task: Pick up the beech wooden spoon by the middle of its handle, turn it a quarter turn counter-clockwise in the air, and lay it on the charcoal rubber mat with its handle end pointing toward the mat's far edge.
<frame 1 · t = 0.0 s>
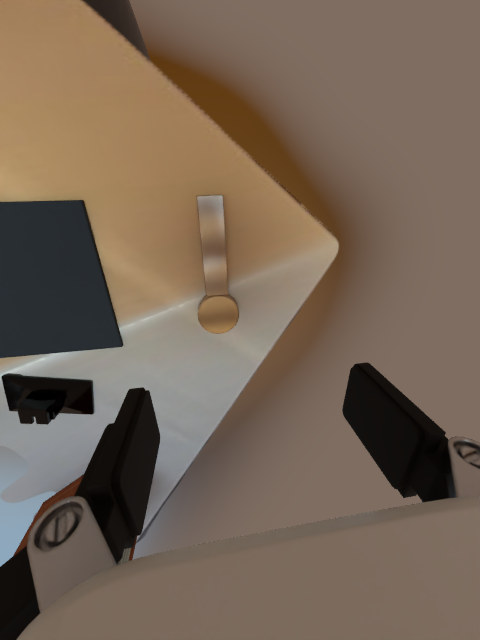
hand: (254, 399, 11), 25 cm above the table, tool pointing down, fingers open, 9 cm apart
mat: (18, 287, 31), on the table
build plate: (52, 394, 38), on the table
spoon: (209, 197, 30), on the table
book: (95, 485, 49), on the table
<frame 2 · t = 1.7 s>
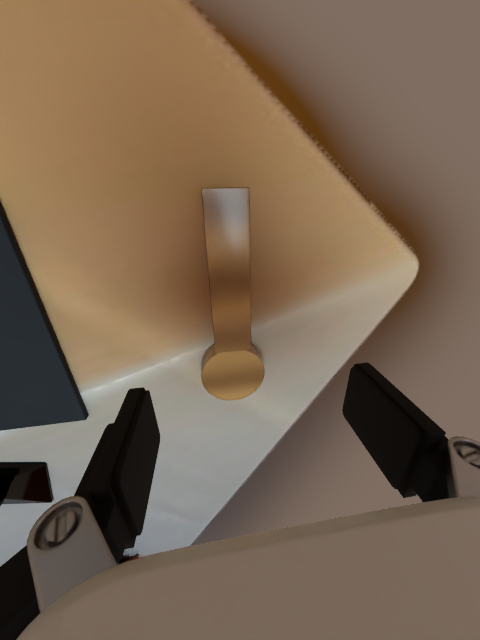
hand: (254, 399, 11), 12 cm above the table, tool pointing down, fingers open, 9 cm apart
spoon: (222, 191, 17), on the table
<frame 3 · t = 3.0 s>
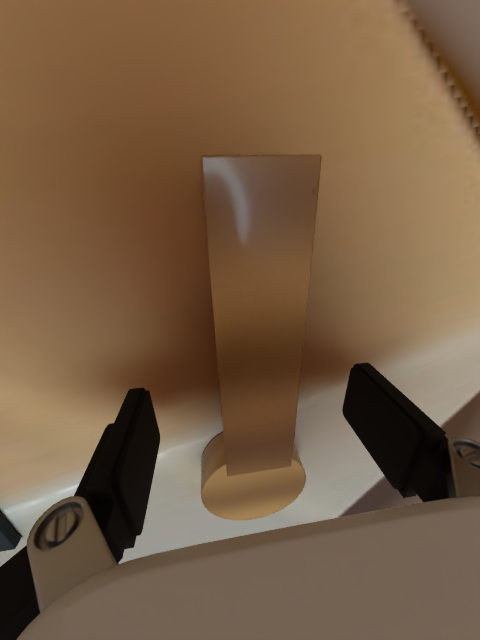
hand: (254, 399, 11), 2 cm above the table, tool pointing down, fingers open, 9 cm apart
spoon: (243, 174, 8), on the table
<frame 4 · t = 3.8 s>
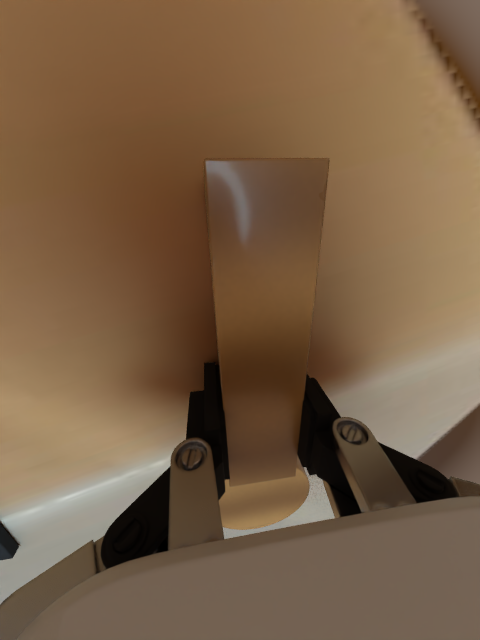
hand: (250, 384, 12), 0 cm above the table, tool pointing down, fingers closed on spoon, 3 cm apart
spoon: (246, 177, 8), on the table, touching gripper
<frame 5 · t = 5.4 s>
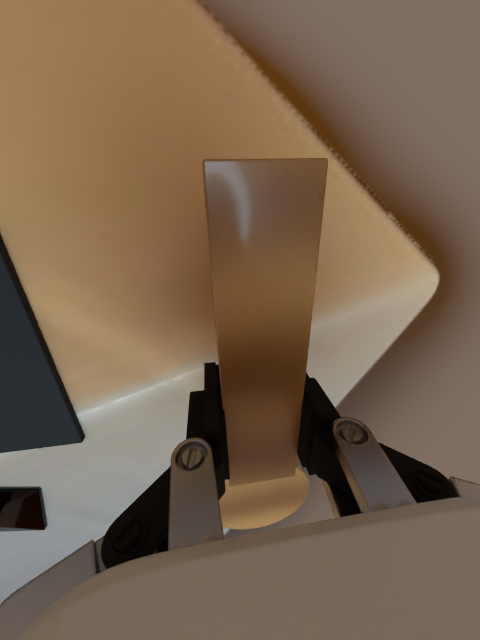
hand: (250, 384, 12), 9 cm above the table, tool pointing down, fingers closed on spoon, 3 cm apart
spoon: (245, 177, 8), point 9 cm above the table, touching gripper
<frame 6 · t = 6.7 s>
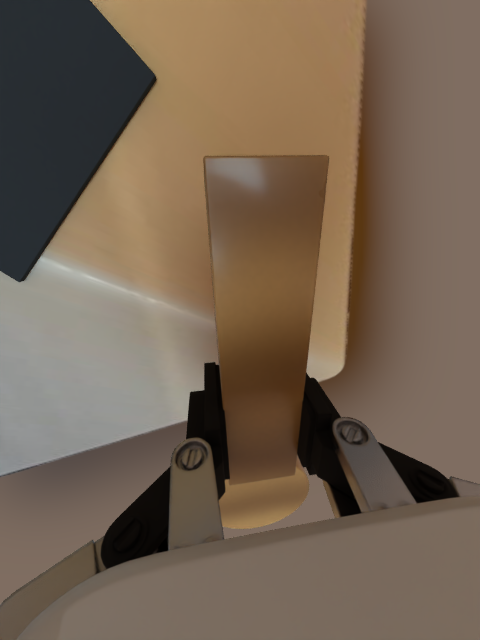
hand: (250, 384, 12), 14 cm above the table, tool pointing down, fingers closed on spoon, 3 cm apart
spoon: (246, 175, 8), point 14 cm above the table, touching gripper
when the fingers open (1 cm above the table, at t = 12.8 s): spoon stays where it is, resting on mat.
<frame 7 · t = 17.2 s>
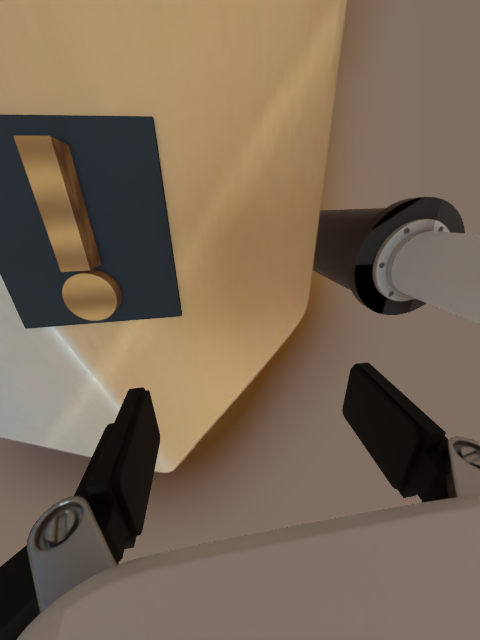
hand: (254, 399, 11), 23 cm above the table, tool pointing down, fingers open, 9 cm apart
mat: (83, 235, 28), on the table
spoon: (52, 145, 23), point 1 cm above the table, touching mat
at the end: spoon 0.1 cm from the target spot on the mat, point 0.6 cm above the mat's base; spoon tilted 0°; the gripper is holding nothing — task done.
